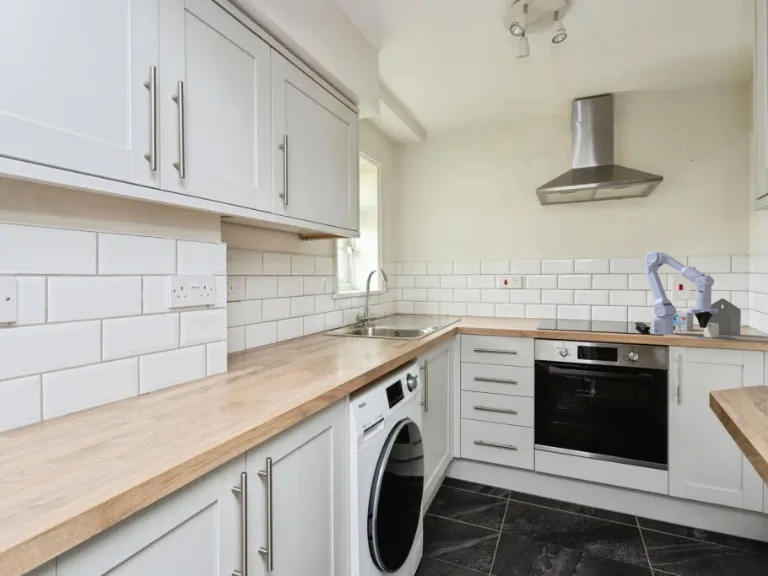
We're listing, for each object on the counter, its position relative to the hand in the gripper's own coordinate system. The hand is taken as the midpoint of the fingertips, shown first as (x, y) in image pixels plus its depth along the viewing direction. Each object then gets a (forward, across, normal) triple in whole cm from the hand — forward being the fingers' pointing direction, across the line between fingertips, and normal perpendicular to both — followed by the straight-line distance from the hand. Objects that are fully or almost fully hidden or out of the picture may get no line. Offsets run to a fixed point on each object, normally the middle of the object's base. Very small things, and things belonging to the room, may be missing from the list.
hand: (703, 327), depth 193 cm
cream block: (+5, +5, 0) cm, 7 cm away
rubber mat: (+5, +7, 0) cm, 9 cm away
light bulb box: (+6, +17, +30) cm, 35 cm away
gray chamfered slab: (+6, +22, +12) cm, 26 cm away
